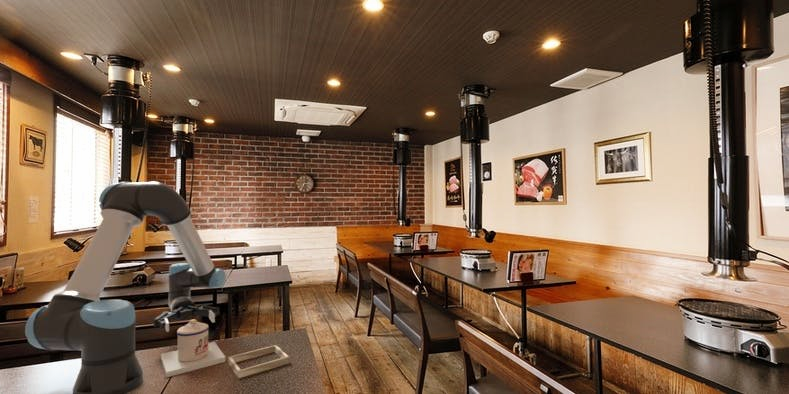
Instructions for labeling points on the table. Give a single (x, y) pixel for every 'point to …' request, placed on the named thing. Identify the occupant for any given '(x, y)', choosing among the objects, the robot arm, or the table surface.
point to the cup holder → (261, 367)
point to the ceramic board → (177, 367)
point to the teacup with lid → (192, 341)
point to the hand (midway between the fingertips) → (191, 322)
